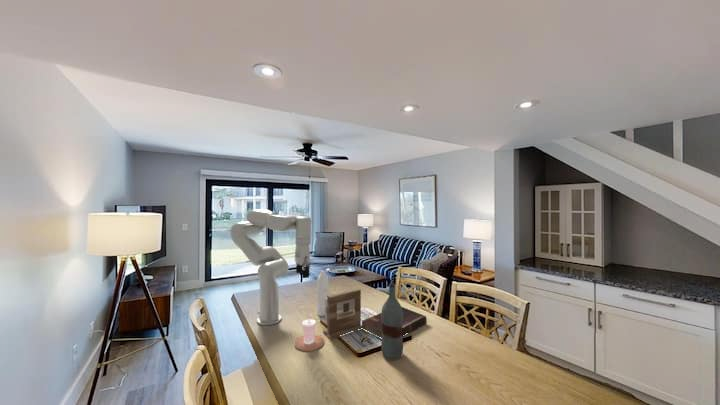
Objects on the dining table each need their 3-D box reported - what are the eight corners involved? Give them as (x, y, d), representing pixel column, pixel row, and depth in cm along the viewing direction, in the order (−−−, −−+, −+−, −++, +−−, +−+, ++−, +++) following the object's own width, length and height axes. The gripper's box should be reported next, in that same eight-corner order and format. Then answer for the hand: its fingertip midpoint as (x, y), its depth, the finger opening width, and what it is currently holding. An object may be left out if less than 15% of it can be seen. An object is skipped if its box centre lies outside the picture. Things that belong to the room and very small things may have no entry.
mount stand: (321, 331, 136) (321, 292, 136) (352, 322, 146) (352, 285, 146) (330, 339, 128) (330, 298, 128) (362, 329, 139) (362, 290, 138)
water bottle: (323, 317, 152) (323, 272, 152) (314, 314, 156) (314, 270, 156) (333, 312, 159) (333, 269, 159) (325, 309, 163) (325, 267, 163)
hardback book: (390, 345, 125) (390, 334, 124) (362, 330, 138) (362, 320, 138) (426, 325, 144) (426, 315, 144) (398, 314, 158) (398, 305, 158)
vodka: (387, 363, 110) (387, 288, 110) (377, 351, 118) (377, 282, 118) (407, 357, 114) (407, 285, 113) (396, 346, 122) (396, 279, 122)
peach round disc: (288, 345, 124) (288, 343, 124) (309, 333, 134) (309, 332, 134) (309, 354, 116) (309, 352, 116) (329, 341, 127) (329, 340, 127)
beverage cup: (310, 336, 130) (310, 307, 129) (318, 341, 125) (318, 310, 125) (299, 341, 125) (299, 311, 125) (307, 346, 121) (307, 315, 121)
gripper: (290, 239, 143) (290, 271, 144) (301, 244, 128) (301, 280, 129) (304, 238, 147) (303, 269, 147) (316, 243, 132) (316, 278, 133)
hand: (302, 275), depth 138 cm, fingers open, 9 cm apart
